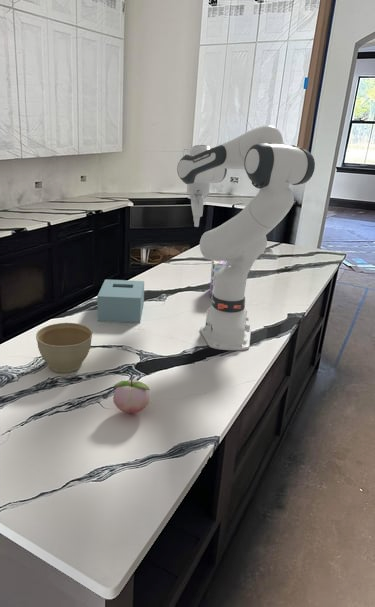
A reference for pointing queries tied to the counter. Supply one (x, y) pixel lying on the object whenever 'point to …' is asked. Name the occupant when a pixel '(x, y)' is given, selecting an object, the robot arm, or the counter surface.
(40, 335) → the planter bowl
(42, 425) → the counter surface
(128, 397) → the decorative fruit
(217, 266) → the candy box
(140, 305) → the box
